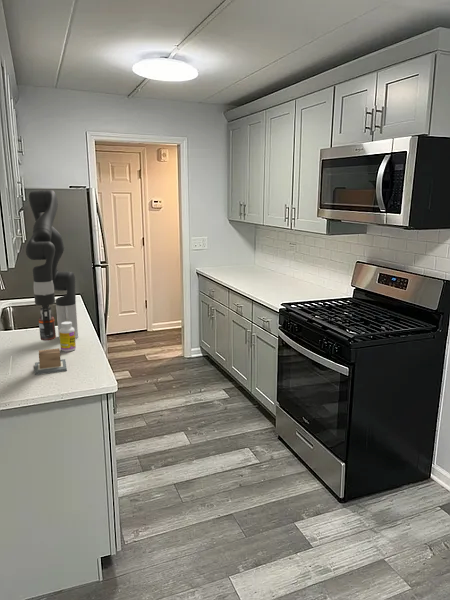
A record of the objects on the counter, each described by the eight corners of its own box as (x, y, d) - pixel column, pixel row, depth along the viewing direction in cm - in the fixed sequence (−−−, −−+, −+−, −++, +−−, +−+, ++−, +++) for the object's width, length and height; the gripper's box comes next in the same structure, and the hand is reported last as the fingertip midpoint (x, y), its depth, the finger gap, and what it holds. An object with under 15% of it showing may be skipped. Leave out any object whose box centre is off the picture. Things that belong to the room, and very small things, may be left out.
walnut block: (39, 364, 192) (38, 350, 191) (60, 361, 195) (59, 348, 194) (39, 368, 187) (38, 354, 186) (60, 366, 190) (59, 352, 189)
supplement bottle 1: (51, 336, 193) (48, 309, 191) (58, 338, 189) (56, 311, 187) (37, 339, 188) (35, 312, 186) (45, 342, 185) (42, 314, 182)
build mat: (35, 364, 195) (34, 362, 194) (65, 361, 199) (65, 358, 199) (34, 374, 184) (34, 372, 184) (66, 370, 188) (66, 368, 188)
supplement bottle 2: (71, 352, 210) (69, 325, 208) (57, 351, 212) (55, 324, 209) (78, 347, 217) (76, 321, 214) (65, 347, 218) (63, 320, 215)
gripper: (34, 289, 190) (37, 329, 193) (33, 296, 177) (37, 338, 180) (53, 288, 193) (57, 327, 196) (54, 294, 179) (58, 336, 183)
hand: (47, 332), depth 188 cm, fingers closed on supplement bottle 1, 6 cm apart
